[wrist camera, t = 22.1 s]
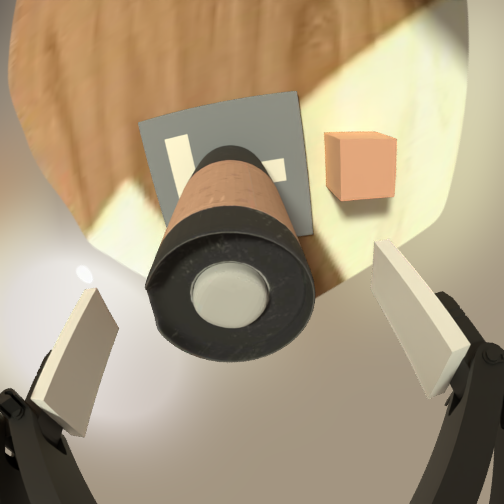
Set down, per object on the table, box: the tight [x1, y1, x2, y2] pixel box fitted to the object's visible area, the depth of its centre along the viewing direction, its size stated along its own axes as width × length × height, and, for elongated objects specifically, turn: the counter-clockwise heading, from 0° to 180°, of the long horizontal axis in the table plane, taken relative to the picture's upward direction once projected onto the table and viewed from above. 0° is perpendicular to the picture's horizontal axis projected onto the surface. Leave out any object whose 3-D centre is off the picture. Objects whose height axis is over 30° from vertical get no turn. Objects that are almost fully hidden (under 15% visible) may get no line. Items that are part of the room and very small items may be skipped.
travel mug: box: [145, 145, 315, 362], centre depth 21 cm, size 8×8×20 cm
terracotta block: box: [324, 132, 397, 201], centre depth 28 cm, size 6×6×5 cm
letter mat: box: [138, 91, 313, 237], centre depth 30 cm, size 16×16×1 cm
